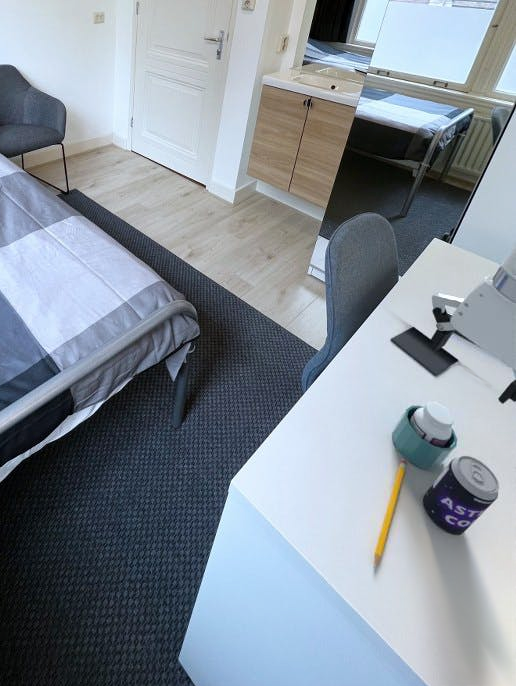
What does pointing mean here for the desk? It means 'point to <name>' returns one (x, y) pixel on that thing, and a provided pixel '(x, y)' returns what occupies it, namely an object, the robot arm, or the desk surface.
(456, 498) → the beverage can
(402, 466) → the pencil
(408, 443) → the cup
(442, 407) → the pill bottle
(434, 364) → the dark grey rectangular plate
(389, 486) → the desk surface
